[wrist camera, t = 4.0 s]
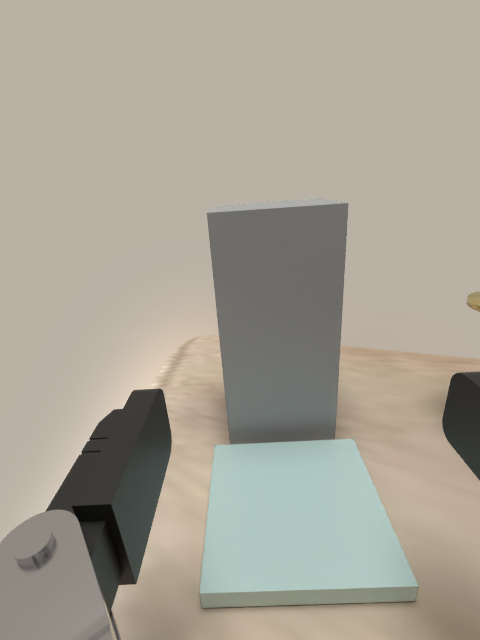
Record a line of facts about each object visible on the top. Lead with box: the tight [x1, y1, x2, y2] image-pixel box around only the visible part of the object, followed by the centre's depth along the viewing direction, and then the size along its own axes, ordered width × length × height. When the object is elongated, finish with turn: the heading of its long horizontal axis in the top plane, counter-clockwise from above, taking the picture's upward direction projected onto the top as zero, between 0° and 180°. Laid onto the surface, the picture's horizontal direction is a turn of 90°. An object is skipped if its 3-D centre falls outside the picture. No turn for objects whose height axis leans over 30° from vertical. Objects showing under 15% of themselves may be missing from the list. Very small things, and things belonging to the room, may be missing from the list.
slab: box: [199, 439, 419, 608], centre depth 14 cm, size 7×6×1 cm
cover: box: [207, 199, 348, 445], centre depth 17 cm, size 6×5×12 cm
